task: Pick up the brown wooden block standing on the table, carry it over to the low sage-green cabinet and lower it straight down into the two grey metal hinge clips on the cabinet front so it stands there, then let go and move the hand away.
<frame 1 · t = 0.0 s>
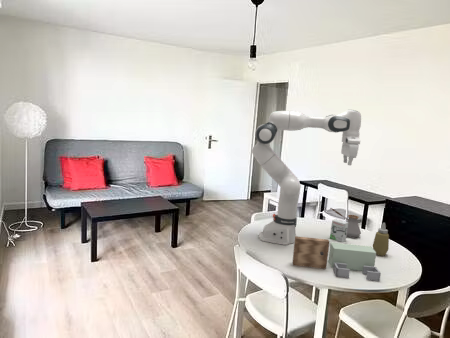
hand: (347, 163, 186), 48 cm above the table, tool pointing down, fingers open, 8 cm apart
coffee pot: (343, 233, 214), on the table
squeeze bottle: (379, 254, 184), on the table
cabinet: (351, 268, 163), on the table
brown wooden block: (309, 265, 164), on the table
ink box: (337, 239, 203), on the table
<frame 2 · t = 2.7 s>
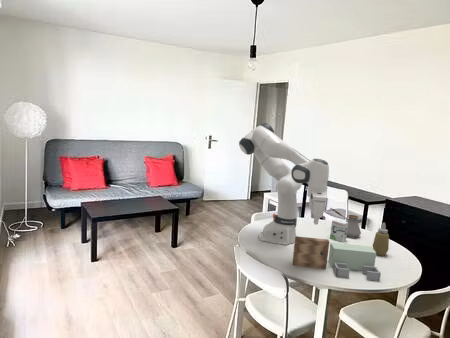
hand: (314, 220, 160), 23 cm above the table, tool pointing down, fingers open, 8 cm apart
nothing on the table moved.
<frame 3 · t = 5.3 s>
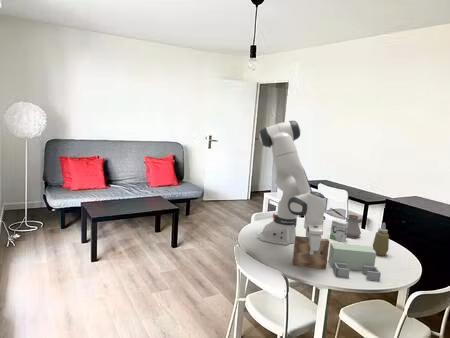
hand: (310, 252, 162), 7 cm above the table, tool pointing down, fingers closed on brown wooden block, 3 cm apart
brown wooden block: (309, 265, 164), on the table, touching gripper
everything else where it was.
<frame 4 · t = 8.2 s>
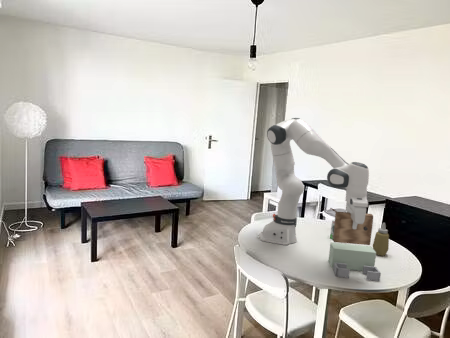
hand: (352, 227, 153), 24 cm above the table, tool pointing down, fingers closed on brown wooden block, 3 cm apart
brown wooden block: (351, 242, 154), point 16 cm above the table, touching gripper
everything else where it was.
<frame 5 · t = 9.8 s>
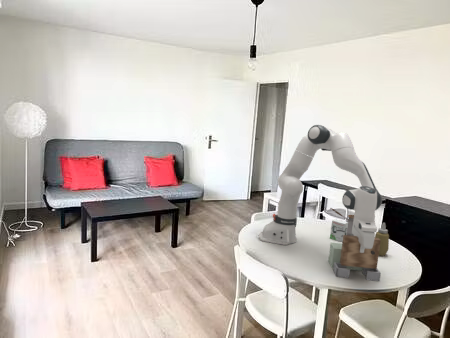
hand: (359, 250, 154), 13 cm above the table, tool pointing down, fingers closed on brown wooden block, 3 cm apart
brown wooden block: (358, 265, 156), point 5 cm above the table, touching gripper
everything else where it was.
when the fingers open (9 cm above the table, at t = 11.4 s): brown wooden block stays where it is, on the table.
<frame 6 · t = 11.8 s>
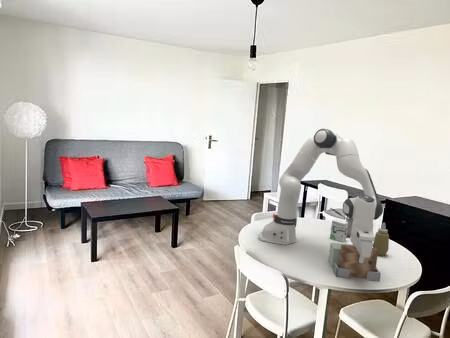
hand: (358, 258, 155), 9 cm above the table, tool pointing down, fingers open, 7 cm apart
brown wooden block: (355, 275, 156), on the table
everything else where it was.
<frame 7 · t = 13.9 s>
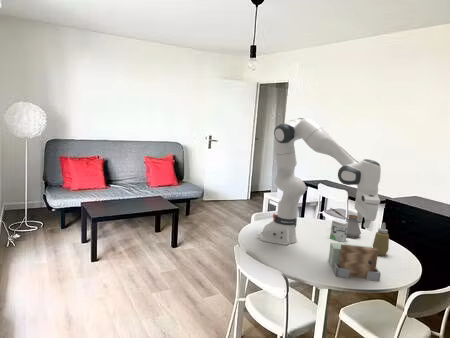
hand: (362, 224, 153), 25 cm above the table, tool pointing down, fingers open, 8 cm apart
nothing on the table moved.
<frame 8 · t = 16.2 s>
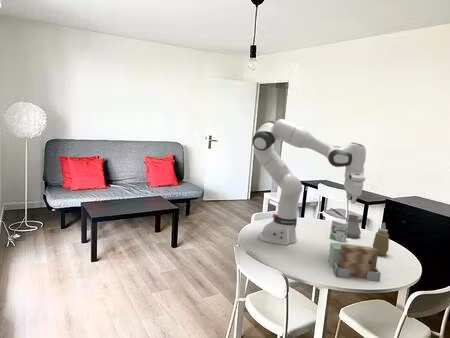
hand: (350, 200, 171), 31 cm above the table, tool pointing down, fingers open, 8 cm apart
nothing on the table moved.
at the end: brown wooden block 0.4 cm from the target spot, on the table; brown wooden block tilted 0°; the gripper is holding nothing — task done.
